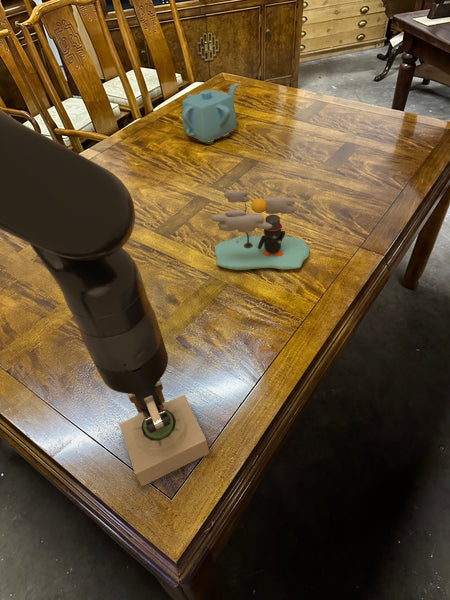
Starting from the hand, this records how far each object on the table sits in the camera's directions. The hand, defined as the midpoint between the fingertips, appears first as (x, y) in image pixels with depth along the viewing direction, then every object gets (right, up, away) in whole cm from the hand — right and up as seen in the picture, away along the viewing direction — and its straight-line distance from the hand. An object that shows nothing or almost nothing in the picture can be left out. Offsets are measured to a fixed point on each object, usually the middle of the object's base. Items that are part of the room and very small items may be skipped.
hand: (158, 422), depth 56 cm
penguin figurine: (+17, +25, +32) cm, 44 cm away
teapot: (+6, +70, +78) cm, 105 cm away
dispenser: (+1, -5, +4) cm, 6 cm away
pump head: (0, -2, +1) cm, 2 cm away
